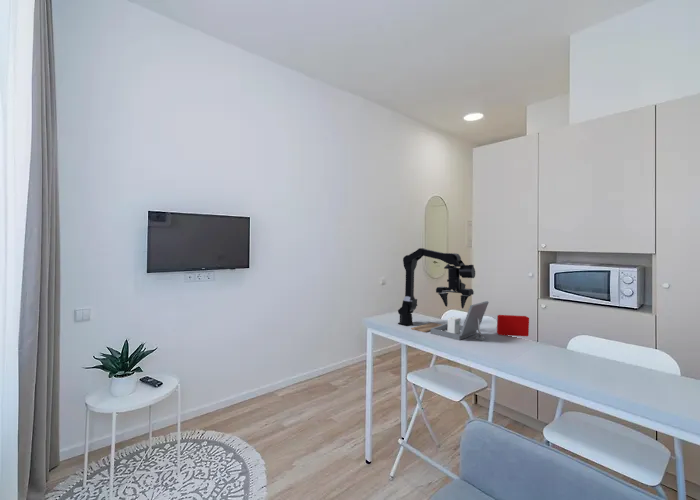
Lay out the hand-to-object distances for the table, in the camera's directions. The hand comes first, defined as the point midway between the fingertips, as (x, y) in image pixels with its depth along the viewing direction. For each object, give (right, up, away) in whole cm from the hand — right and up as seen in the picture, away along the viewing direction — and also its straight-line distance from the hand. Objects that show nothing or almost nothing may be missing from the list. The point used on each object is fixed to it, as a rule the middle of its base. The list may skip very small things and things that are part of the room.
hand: (454, 307), depth 180 cm
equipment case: (+3, -14, -2) cm, 14 cm away
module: (0, -14, 0) cm, 14 cm away
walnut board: (-11, -13, +11) cm, 20 cm away
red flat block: (+30, -15, 0) cm, 34 cm away
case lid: (+7, -4, -7) cm, 11 cm away
